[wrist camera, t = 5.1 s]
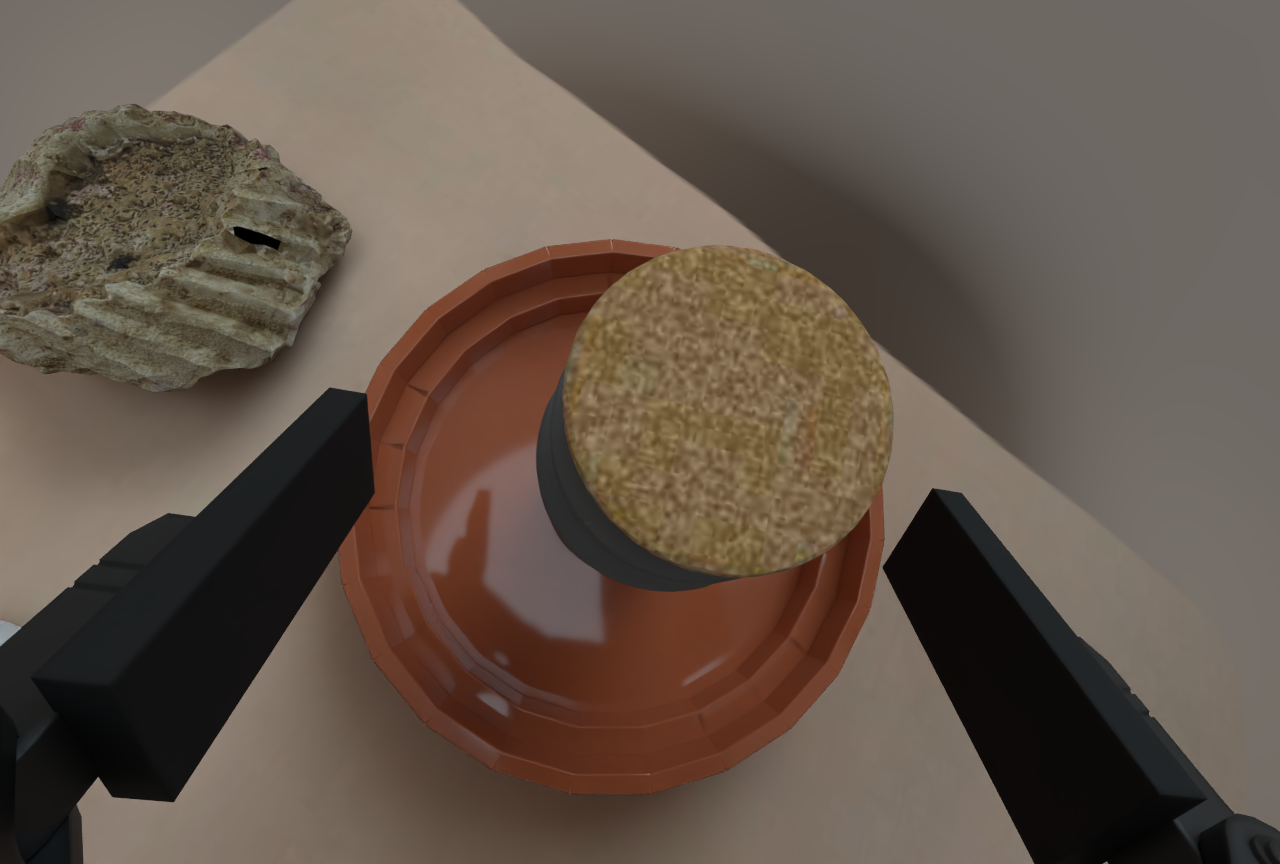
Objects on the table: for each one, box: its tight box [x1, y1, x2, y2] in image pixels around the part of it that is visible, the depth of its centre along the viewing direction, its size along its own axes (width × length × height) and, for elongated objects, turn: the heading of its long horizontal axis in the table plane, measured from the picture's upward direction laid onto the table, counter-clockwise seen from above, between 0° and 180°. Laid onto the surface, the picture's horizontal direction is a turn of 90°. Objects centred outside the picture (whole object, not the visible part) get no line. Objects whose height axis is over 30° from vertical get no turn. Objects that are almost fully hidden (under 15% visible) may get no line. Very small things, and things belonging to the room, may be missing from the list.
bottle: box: [536, 245, 893, 592], centre depth 15 cm, size 6×6×15 cm
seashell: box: [0, 104, 352, 392], centre depth 19 cm, size 11×7×10 cm
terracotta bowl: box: [338, 239, 885, 794], centre depth 20 cm, size 19×19×4 cm
